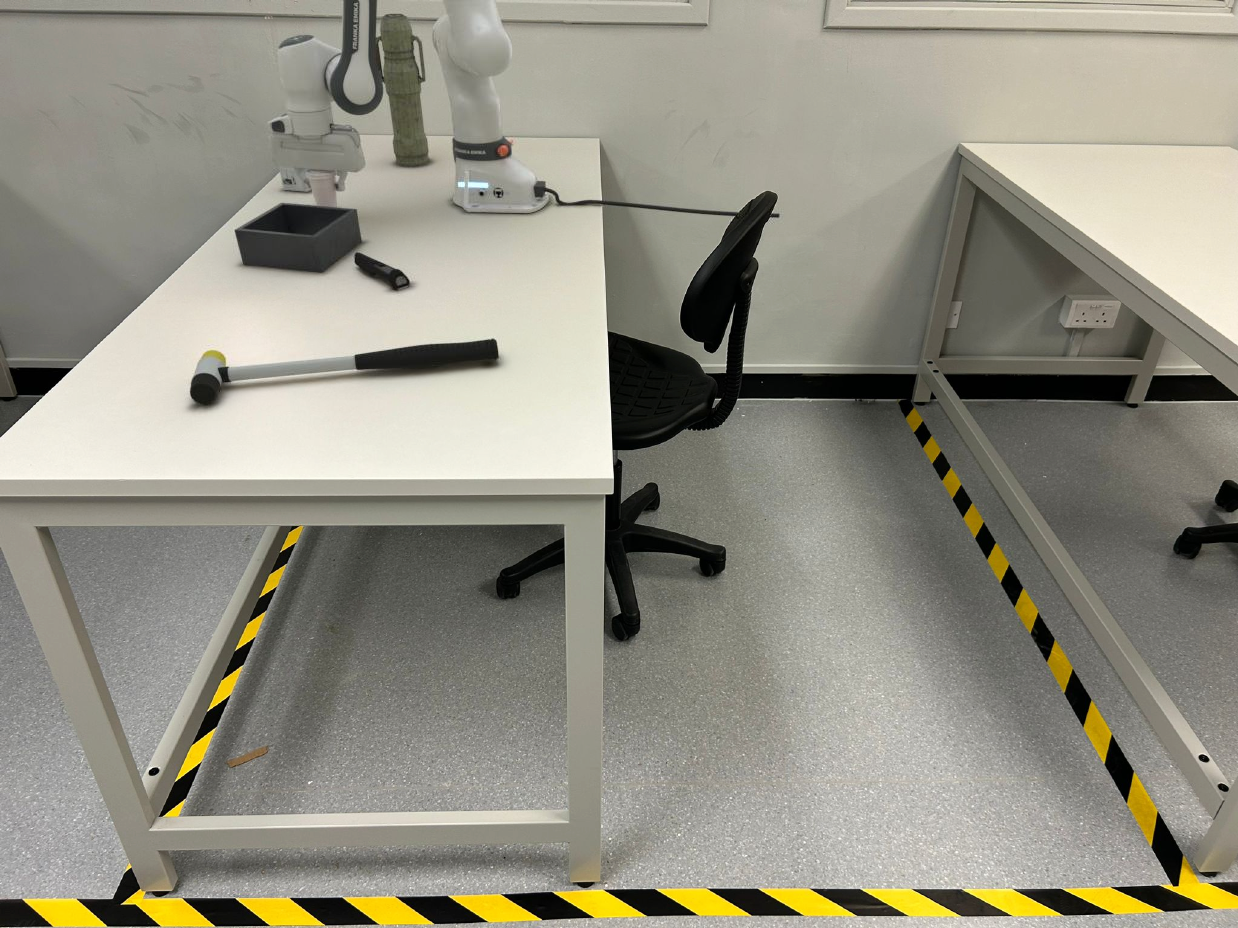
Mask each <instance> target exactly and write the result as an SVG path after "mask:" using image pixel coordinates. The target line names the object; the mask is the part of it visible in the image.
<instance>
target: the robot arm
mask: <svg viewBox="0 0 1238 928" xmlns="http://www.w3.org/2000/svg"><path fill="white" fill-rule="evenodd" d="M340 2H341V48H338V47H334V46H332V45H330V44H327V43H325V42H323V41H321V40H320V39H318V38H317V37H316V36H315V35H311V34H304V35H303V34H300V35H299V34H298V35H295V36H291V37H288V38H286V39H284V40H283V41H281V42H280V44H279V45H278V48H277V66H278V73H279V80H280V84H281V87H282V90H283V92H284V94H285V101H286V102H285V109H286V113H284V114H282V115H280V116H278V117H275V118H273V119H271V120H270V121H268V122H267V123H266V126H267V130H268V132H269V133H270V134H269V136H268V147H269V152H270V158H271V161H272V162H273V164H274V165H275V166H276V167H279V166H280V167H293V168H294V171H295V173H296V175H297V176H298V177H299V179H300V180H301V181H302V186H303V188H305V189H311V186H310V183H309V180H308V178H307V177H306V174H305V172H304V170H305V169H318V170H331V171H336V173H337V175H336V176H338V180H336V183H334V186H335V191H336V192H340V193H341V192H342V193H343V192H345V190H346V185H345V181H346V179H347V176H348V174H349V173H359V172H361V171H362V170H363V169H364V168H365V167H366V159H365V153H364V151H363V148H362V147H363V146H362V143H361V135H360V133H359V131H358V130H357V129H356V128H355V127H353V125H350V124H345V125H343V124H338V123H335V122H334V116H333V110H332V103H333V102H335V104H336V105H337V106H338V108H340V109H341V110H342V111H343V112H345V113H348V114H349V115H352V116H365V115H368V114H370V113H372V112H373V111H375V110H376V109H377V108H378V107H379V106H380V105H381V103H382V100H383V96H384V82H382V80H381V77H380V74H379V71H378V68H377V64H376V55H375V51H376V37H377V14H378V13H377V12H378V0H340ZM442 2H443V4H444V8H445V10H446V14H444V15H442V16H441V17H439V18H438V19H437V20H436V22H435V23H434V25H433V27H432V32H431V33H432V34H431V41H432V45H433V47H434V49H435V51H436V53H437V56H438V60H439V63H440V67H441V72H442V75H443V79H444V83H445V86H446V91H447V94H448V98H449V103H450V105H449V106H450V112H451V113H450V114H451V121H452V132H453V137H452V139H451V143H452V155H453V161H454V164H455V179H454V180H455V181H454V192H453V196H452V202H453V203H454V204H455V205H457V206H459V207H461V208H463V210H464V211H465V212H467V213H500V214H501V213H502V214H505V213H506V214H532V213H535V212H537V211H540V210H541V209H543V208H544V207H545V206H546V205H547V204H548V202H549V200H550V196H549V194H551V195H553V196H554V199H555V203H557V204H558V205H559V206H582V205H604V206H615V207H626V208H637V209H644V210H645V209H646V210H656V211H664V212H665V211H666V212H673V213H674V212H675V213H683V214H684V213H685V214H686V213H687V214H695V215H697V214H698V215H708V216H709V215H710V216H725V217H738V216H737V215H738V214H739V213H740V212H741V211H726V210H725V211H724V210H709V209H697V208H684V207H676V206H675V207H674V206H666V205H665V206H664V205H655V204H644V203H636V202H635V203H634V202H623V201H614V200H604V199H603V200H602V199H601V200H600V199H583V200H577V201H574V202H565V201H563V200H560V195H559V193H558V192H557V191H556V190H554V189H552V188H548V187H547V186H546V182H547V181H546V180H538V178H537V174H536V172H535V171H534V170H533V169H531V168H530V167H529V166H528V165H526V164H525V163H524V162H522V161H521V160H520V159H518V157H516V156H515V155H514V154H513V150H512V149H513V148H512V147H513V146H514V143H513V142H514V139H511V140H510V141H509V140H508V139H507V138H506V137H505V136H504V135H503V118H502V117H503V116H502V104H501V98H500V96H499V94H498V92H497V90H496V87H495V84H494V80H493V77H496V76H499V75H501V74H502V73H504V72H505V71H506V70H507V68H508V67H509V65H510V64H511V61H512V56H513V45H512V42H511V39H510V38H509V36H508V34H507V32H506V31H505V28H504V26H503V23H502V19H501V15H500V13H499V9H498V5H497V3H496V0H442ZM770 213H771V212H770ZM780 215H781V214H780V213H778V212H777V213H775V212H772V213H771V216H769V217H768V218H771V219H773V218H775V219H776V218H778V219H779V218H780Z"/></svg>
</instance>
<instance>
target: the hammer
mask: <svg viewBox="0 0 1238 928" xmlns="http://www.w3.org/2000/svg"><path fill="white" fill-rule="evenodd" d="M499 358H500V355H499V347H498V341H497V339H495V338H488V339H482V340H473V341H465V342H444V343H443V342H442V343H427V344H426V343H425V344H416V345H408V346H402V347H396V348H392V349H391V348H389V349H384V350H376V351H370V352H363V353H356V354H354V355H347V356H336V357H325V358H316V359H315V358H314V359H303V360H293V361H283V362H282V361H281V362H272V363H260V364H249V365H243V366H242V365H240V366H227V358H226V356H225V355H224V354H223V353H222V352H221V351H219V350H216V349H209V350H206V351H205V352H203V354H202V355H201V357H200V359H199V360H198V362H197V364H196V368H195V370H194V373H193V376H192V378H191V380H190V388H189V397H191V399H192V400H193V401H194V402H195V403H198V404H200V405H208V404H211V403H212V402H214V401H215V399H216V398H217V396H218V394H219V392H220V390H221V387H222V384H225V383H227V384H228V383H232V382H239V381H248V380H259V379H268V378H280V377H289V376H290V377H291V376H298V375H299V376H300V375H301V376H302V375H308V374H309V375H311V374H319V373H320V374H323V373H330V372H340V371H341V372H343V371H353V370H356V371H369V370H393V369H394V370H395V369H419V368H429V367H438V366H439V367H440V366H447V365H453V364H461V363H468V362H480V361H497V360H498V359H499Z"/></svg>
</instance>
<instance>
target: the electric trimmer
mask: <svg viewBox="0 0 1238 928" xmlns="http://www.w3.org/2000/svg"><path fill="white" fill-rule="evenodd" d="M353 257H354V259H353V260H354V264H355V265H356V266H357V267H358V268H359V269H361V270H362V271H363V272H364V273H366V274H367V275H369V276H372V277H378V278H379V279H381V280H383V281H385V282H387V283H389V285H390V287H391V288H392V290H398V291H400V290H403V289H405V288H408V287H409V286H410V284H411V282H410V279H409V277H408V276H407V275H406V274H405V273H404V272H403V271H402V270H401V269H400V268H395V267H393V266H391V265H388V264H387V263H384V262H381V261H379V260H377V259H375V258H373V257H370V256H368V255H366V254H364V253H362V252H358V251H356V252H355V253H354V256H353Z"/></svg>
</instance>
